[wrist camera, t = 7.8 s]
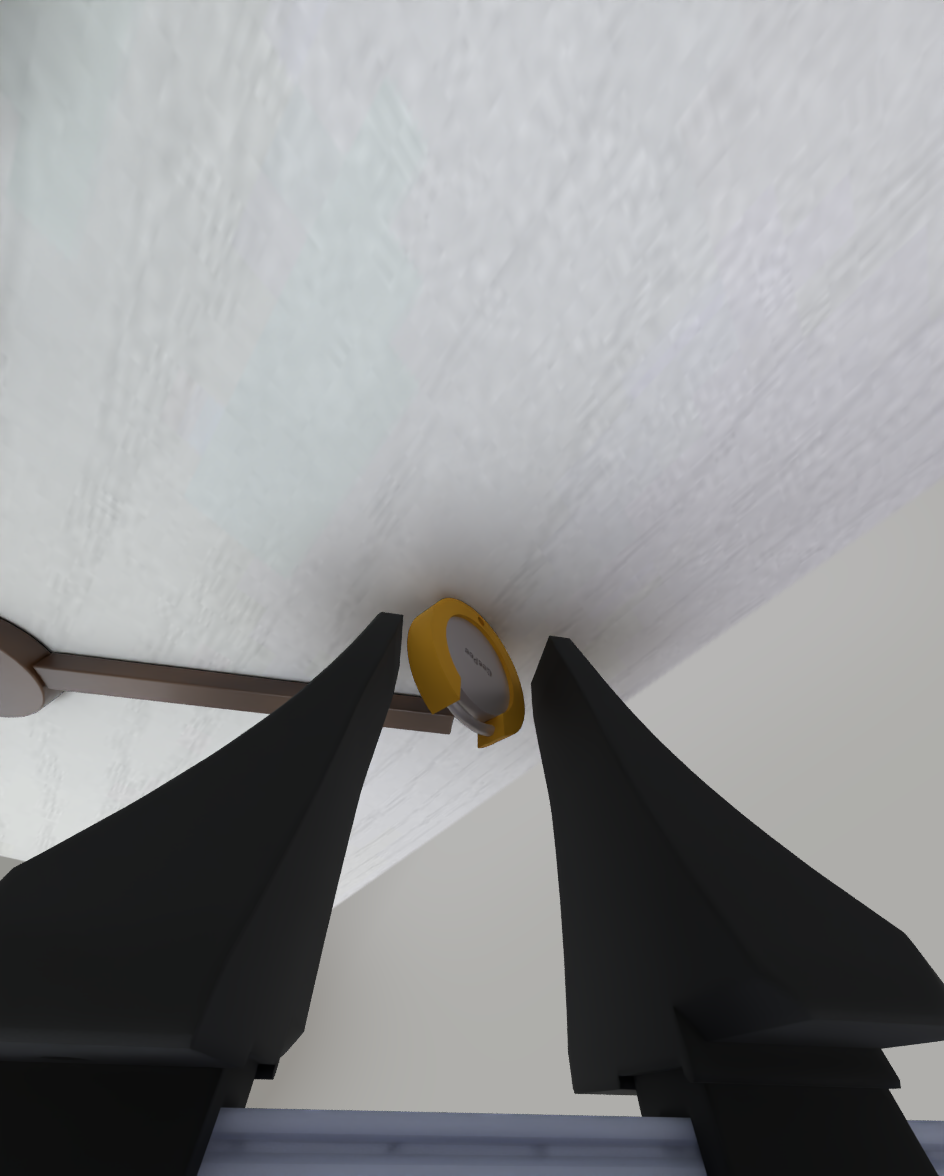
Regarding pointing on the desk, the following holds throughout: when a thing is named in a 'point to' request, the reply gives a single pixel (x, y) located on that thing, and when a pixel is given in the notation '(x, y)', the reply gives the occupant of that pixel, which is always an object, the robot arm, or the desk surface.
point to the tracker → (465, 670)
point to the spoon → (159, 685)
